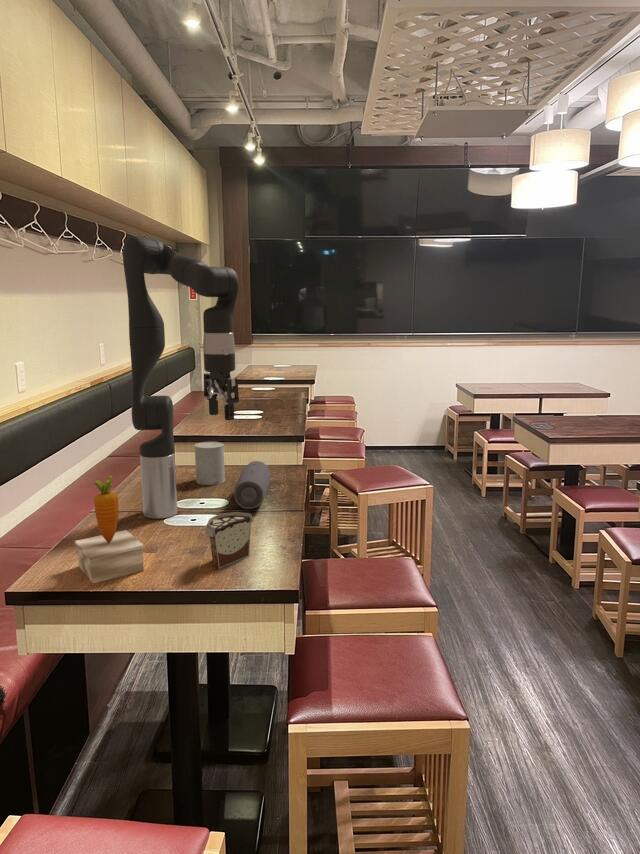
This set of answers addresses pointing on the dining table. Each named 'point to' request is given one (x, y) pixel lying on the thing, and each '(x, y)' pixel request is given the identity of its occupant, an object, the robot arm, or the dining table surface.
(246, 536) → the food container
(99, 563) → the wooden stand
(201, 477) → the grey cylinder
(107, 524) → the carrot
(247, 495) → the bluetooth speaker
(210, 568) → the dining table surface
